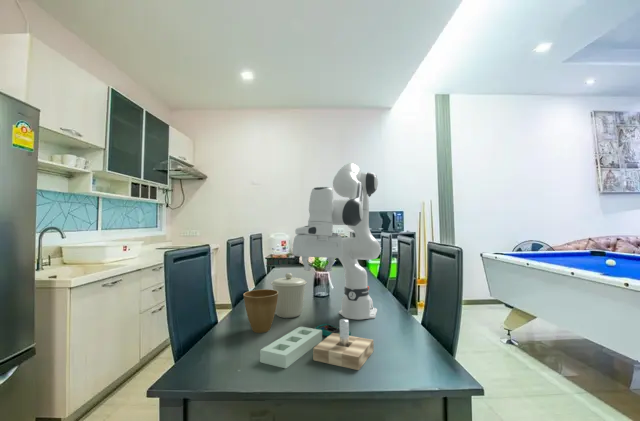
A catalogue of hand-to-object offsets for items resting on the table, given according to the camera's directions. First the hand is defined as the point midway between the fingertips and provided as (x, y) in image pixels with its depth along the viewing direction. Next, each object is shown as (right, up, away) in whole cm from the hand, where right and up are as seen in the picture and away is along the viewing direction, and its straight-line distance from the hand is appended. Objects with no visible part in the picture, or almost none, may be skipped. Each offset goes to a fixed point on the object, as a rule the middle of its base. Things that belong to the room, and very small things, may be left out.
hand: (318, 270), depth 105 cm
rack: (-9, -30, +4) cm, 31 cm away
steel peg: (+9, -29, -1) cm, 31 cm away
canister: (-15, -32, +47) cm, 59 cm away
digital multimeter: (+6, -31, +20) cm, 37 cm away
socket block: (+9, -29, -1) cm, 31 cm away
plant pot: (-25, -31, +25) cm, 47 cm away
